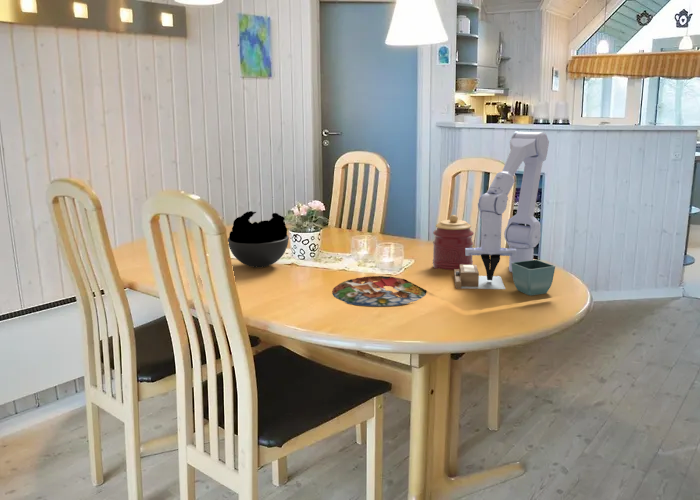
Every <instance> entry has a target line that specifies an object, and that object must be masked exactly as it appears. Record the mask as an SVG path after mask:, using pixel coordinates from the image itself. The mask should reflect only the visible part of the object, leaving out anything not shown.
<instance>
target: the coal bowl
mask: <svg viewBox="0 0 700 500" xmlns="http://www.w3.org/2000/svg"><path fill="white" fill-rule="evenodd" d="M256 213H257V211H253V210H250V211H246V212H244V213H243V214H242V215H241V216H238V217H236V218H235V219H234V220H233V223H232V224H233V226H232V228H231V231H230V232H229V234H228V235H229V237H228V238H227V243H228V242H229V244H228V247H229V249H230V252H231V253H232V255H233V256H234V258H235V259H237V260H238V261H239V262H240V263H241V264H243V265H245V266H247V267H250V268H265V267H269V266H271V265H273V264H275V263H276V262H278V261H279V260H280V259H281V258H283V255H284V254H285V252H286V250H287V248H288V244H289V238H290V237H289V235H288V228H287V225H286V222H285V220H286V219H285V217H284V216H283V215H281V214H279V213H277V212H273V213H272V214H271V218H270V219H269V220H268V219H267V220H261V221H259V222H257V221H254V222H251V221H250V219H251V218H252V217H253V216H254V215H255V214H256Z"/></svg>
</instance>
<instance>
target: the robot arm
mask: <svg viewBox="0 0 700 500" xmlns="http://www.w3.org/2000/svg"><path fill="white" fill-rule="evenodd" d="M549 143H550V141H549V138H548V136H547V134H546V132H544V131H541V132H538V131H537V132H533V131H520V130H519V131H514V133H513V134H512V135H511V138H510V141H509V148H510V152H509V153H508V155H507V156H508V157H507V158H506V161H505V163H504V166H503V168H502V171H498V172H497V173H496V174H495V176H494V178H493V180H492V182H491V183H490V185H489V187H488V189H487V191H486V192H485V193H482V195H480V197H479V199H478V202H477V208H478V212H479V217H480V218H481V232H480V247H473V248H465V255H466V256H469V255H472V256H480V257H481V260H482V262H483V265H484V268H485V272H486V276H487V280H492V278H493V276H494V273H495V271H496V269H497V267H498V265H499V263H500V261H501V257H509V259H508V271H509V272H510V273H512V264H511V263H513V262H521V261H529V260H534V249H535V248H536V247H537V245H538V244H539V243H540V240H541V238H542V235H541V223H540V221H539V219H537V218H536V217H535V208H536V203H537V198H538V191H539V187H540V178H541V174H542V168H543V164H544V163H543V162H545V161H546V159H547V155H548V150H549ZM522 163H524V168H523V174H522V180H521V185H520V191H519V197H518V203H517V208H516V214H514V215H513V216H512V217H510V218H509V219H507V220H508V221H507V225H506V226H505V229H504V233H503V234H504V240H505V242H506V243H507V246H509V248H507V247H501V246H502V227H503V226H502V223H503V222H502V220H503V213H504V212H505V211H506V209H507V205H508V200H509V194H510V192H511V191H512V188H513V186H514V184H515V178H514V176H515V174H516V172H517V171H518V169H519V168H520V166H521V165H522ZM522 224H523V225H522Z"/></svg>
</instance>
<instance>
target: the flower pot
mask: <svg viewBox="0 0 700 500" xmlns="http://www.w3.org/2000/svg"><path fill="white" fill-rule="evenodd" d="M511 264H512V272H511V274H512V280H513V283H514V286H515V288H516V290H517V291H518V292H521V293H523V294H525V295H527V296H536V295H545V294H547V293H548V292H549V290H550V289H551V287H552V284H553V280H554V275H555V271H556V265H554V264H550V263H547V262H544V261H542V260H538V259H533V260H529V261H521V262H513V263H511Z"/></svg>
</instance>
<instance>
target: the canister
mask: <svg viewBox="0 0 700 500" xmlns="http://www.w3.org/2000/svg"><path fill="white" fill-rule="evenodd" d="M458 217H459V216H457V214H451V215H450V216H449V219H443V220H441V221H439V222H438V223H437V224H436V225H435V228H436V229H435V230H434V231H433V232H432V234H433V235H434V240H433V242H432V244H433V248H432V249H433V250H432V252H433V255H432V256H433V259H432V264H433V265H432V266H433V269H435V270H436V269H437V270H438V269H442V270H446V271H447V270H448V271H454V269H459V270H460V264H461V265H474V264H473V262H474V260H473V255H469V256H466V255H465V248H474V242H473V236H474V234H475V233H474V231H473V230H471V228H472V225H471V224H469V222H467V221H466V220H461V219H458Z"/></svg>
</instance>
